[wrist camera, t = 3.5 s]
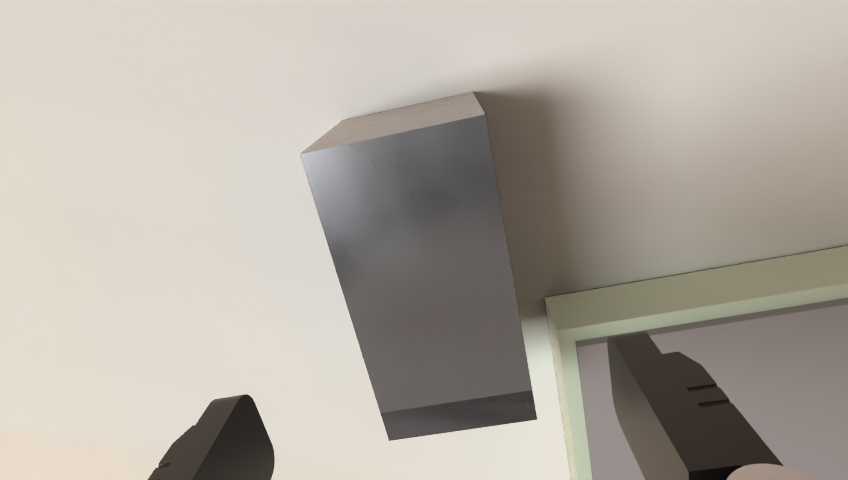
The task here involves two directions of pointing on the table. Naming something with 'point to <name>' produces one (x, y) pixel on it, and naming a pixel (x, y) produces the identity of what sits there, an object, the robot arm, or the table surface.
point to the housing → (425, 265)
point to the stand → (717, 356)
